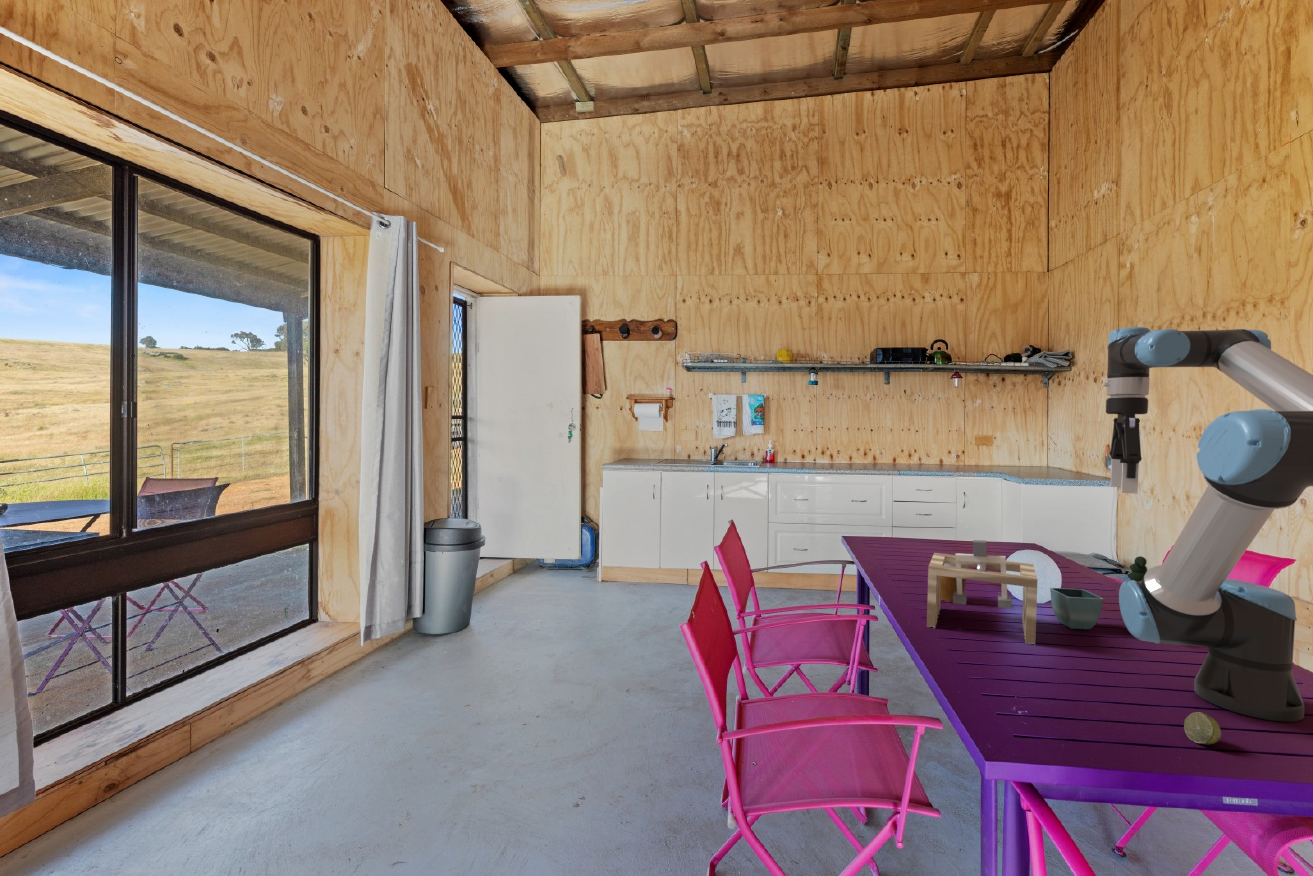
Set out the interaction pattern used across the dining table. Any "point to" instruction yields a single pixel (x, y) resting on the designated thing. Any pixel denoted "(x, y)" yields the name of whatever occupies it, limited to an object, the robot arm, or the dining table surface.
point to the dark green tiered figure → (1138, 569)
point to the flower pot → (1076, 607)
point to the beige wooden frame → (1024, 579)
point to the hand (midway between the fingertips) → (1123, 490)
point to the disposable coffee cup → (950, 585)
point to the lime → (1202, 728)
